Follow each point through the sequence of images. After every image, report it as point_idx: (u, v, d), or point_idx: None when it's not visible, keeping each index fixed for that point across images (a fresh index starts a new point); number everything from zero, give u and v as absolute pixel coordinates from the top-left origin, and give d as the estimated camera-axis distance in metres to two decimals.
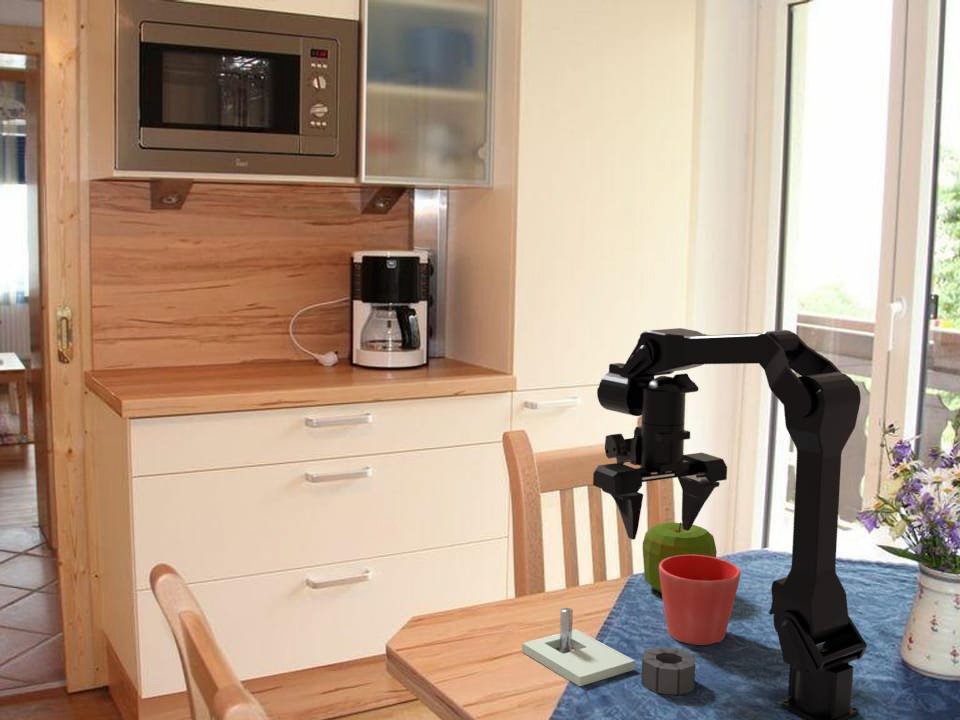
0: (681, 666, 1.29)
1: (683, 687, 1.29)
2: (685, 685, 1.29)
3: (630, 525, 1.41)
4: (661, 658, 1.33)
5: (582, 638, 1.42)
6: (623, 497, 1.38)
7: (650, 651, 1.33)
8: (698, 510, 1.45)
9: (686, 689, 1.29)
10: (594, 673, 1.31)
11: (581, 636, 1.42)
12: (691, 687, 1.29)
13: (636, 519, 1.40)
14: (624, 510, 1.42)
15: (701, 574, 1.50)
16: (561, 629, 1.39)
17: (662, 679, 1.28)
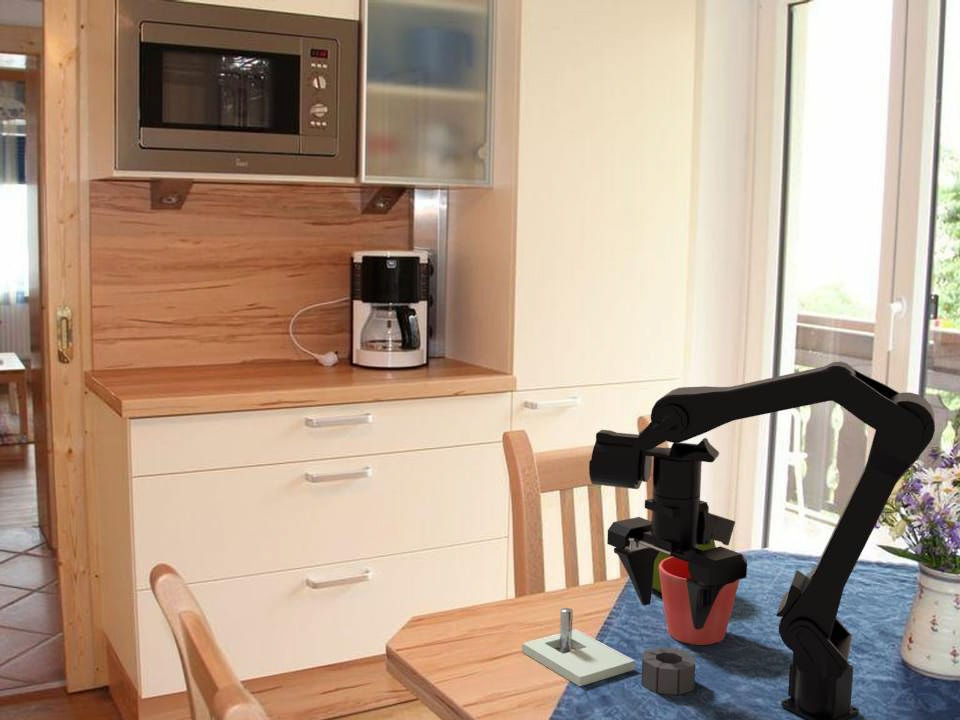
0: (681, 666, 1.29)
1: (683, 687, 1.29)
2: (685, 685, 1.29)
3: None
4: (661, 658, 1.33)
5: (582, 638, 1.42)
6: None
7: (650, 651, 1.33)
8: (693, 608, 1.25)
9: (686, 689, 1.29)
10: (594, 673, 1.31)
11: (581, 636, 1.42)
12: (691, 687, 1.29)
13: (633, 581, 1.33)
14: None
15: None
16: (561, 629, 1.39)
17: (662, 679, 1.28)
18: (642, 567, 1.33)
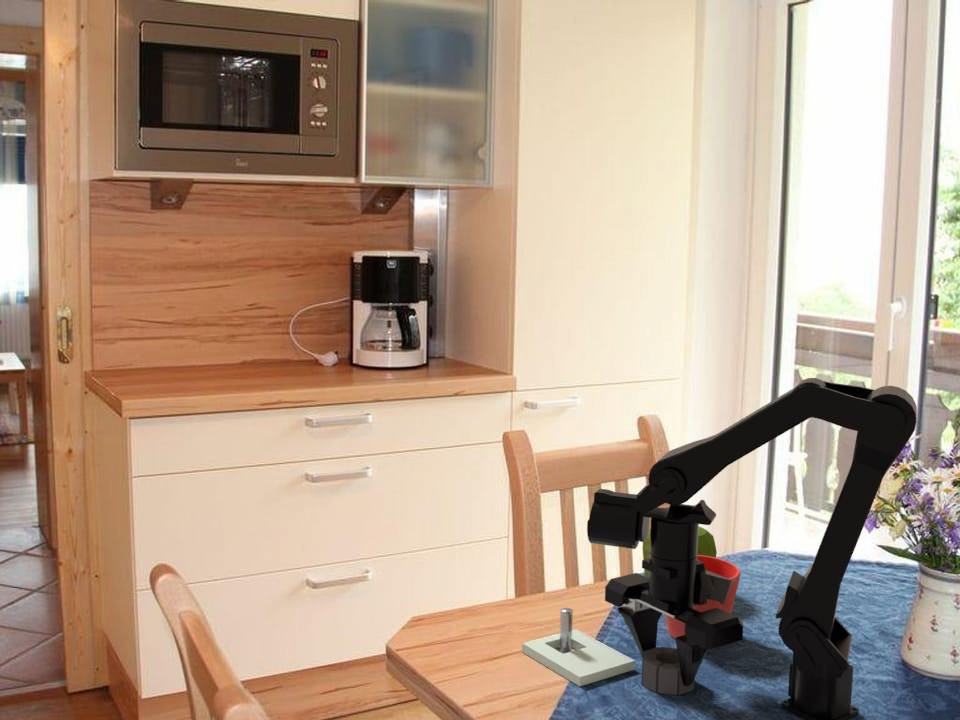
0: None
1: (683, 687, 1.29)
2: None
3: None
4: (661, 658, 1.33)
5: (582, 638, 1.42)
6: (618, 609, 1.35)
7: (650, 651, 1.33)
8: (682, 666, 1.27)
9: (686, 689, 1.29)
10: (594, 673, 1.31)
11: (581, 636, 1.42)
12: (691, 687, 1.29)
13: (637, 642, 1.33)
14: None
15: None
16: (561, 629, 1.39)
17: (662, 679, 1.28)
18: (646, 627, 1.33)
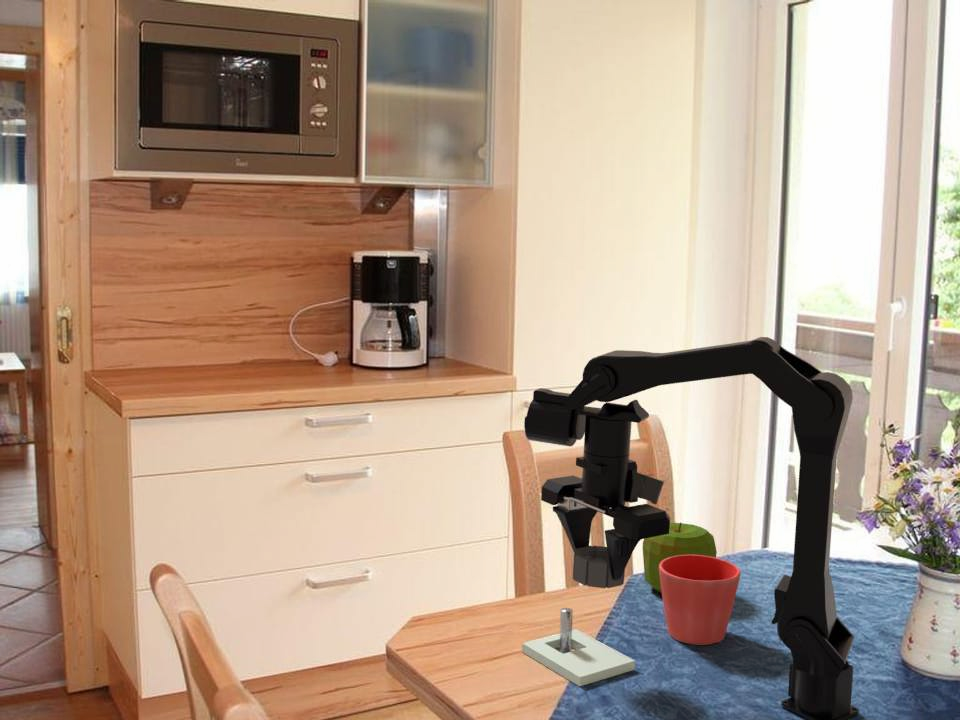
0: None
1: (611, 581, 1.32)
2: None
3: None
4: (593, 555, 1.36)
5: (582, 638, 1.42)
6: None
7: (583, 548, 1.37)
8: (611, 559, 1.30)
9: (615, 583, 1.33)
10: (594, 673, 1.31)
11: (581, 636, 1.42)
12: (620, 582, 1.33)
13: (570, 539, 1.37)
14: None
15: (701, 574, 1.50)
16: (561, 629, 1.39)
17: (592, 573, 1.32)
18: (579, 526, 1.37)
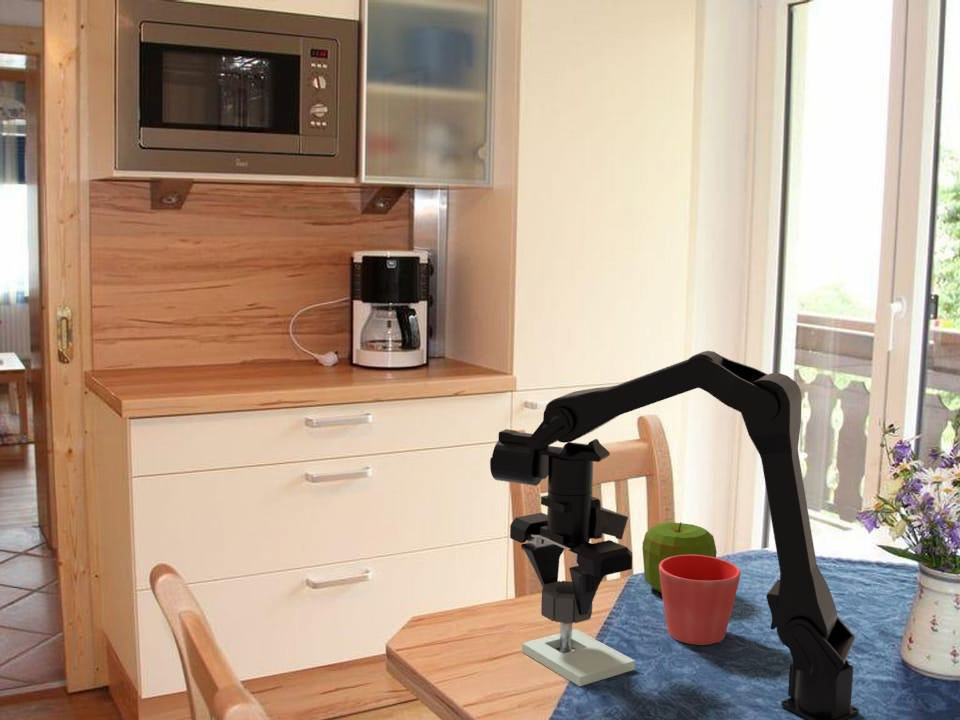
0: None
1: (578, 616, 1.36)
2: None
3: None
4: (561, 591, 1.40)
5: (582, 638, 1.42)
6: None
7: (551, 584, 1.40)
8: (577, 595, 1.34)
9: (582, 617, 1.36)
10: (594, 673, 1.31)
11: (581, 636, 1.42)
12: (587, 616, 1.37)
13: (539, 576, 1.41)
14: None
15: (701, 574, 1.50)
16: (561, 629, 1.39)
17: (559, 608, 1.36)
18: (547, 562, 1.41)
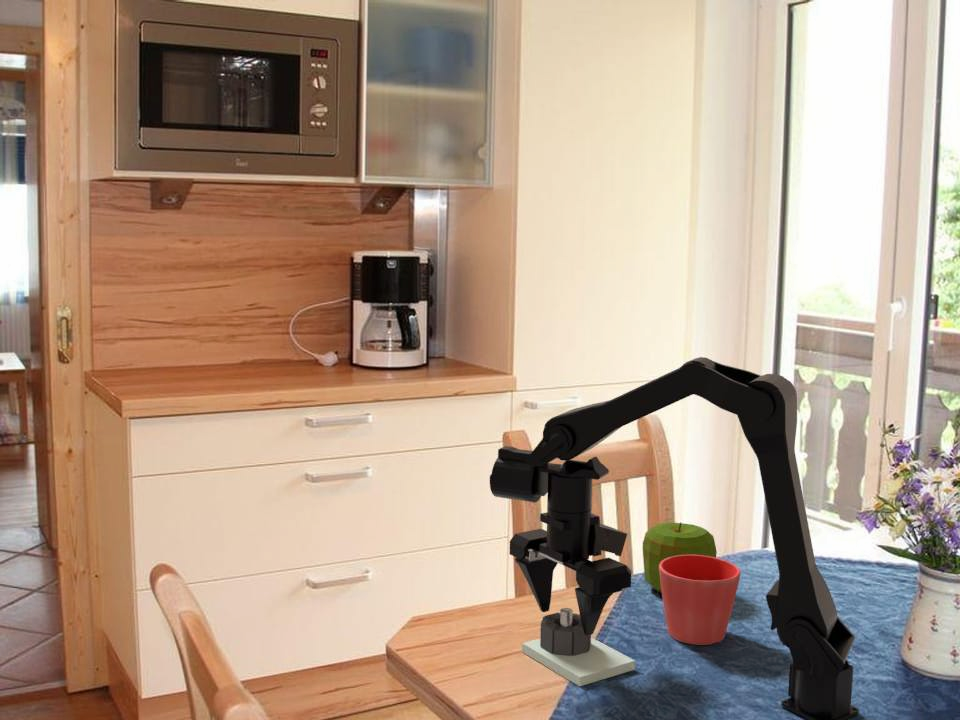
0: (576, 629, 1.37)
1: (577, 648, 1.36)
2: (580, 647, 1.37)
3: None
4: None
5: None
6: None
7: (550, 615, 1.41)
8: (582, 615, 1.33)
9: (581, 650, 1.37)
10: (594, 673, 1.31)
11: None
12: (586, 649, 1.37)
13: (533, 589, 1.42)
14: None
15: (701, 574, 1.50)
16: None
17: (558, 641, 1.36)
18: (541, 576, 1.42)
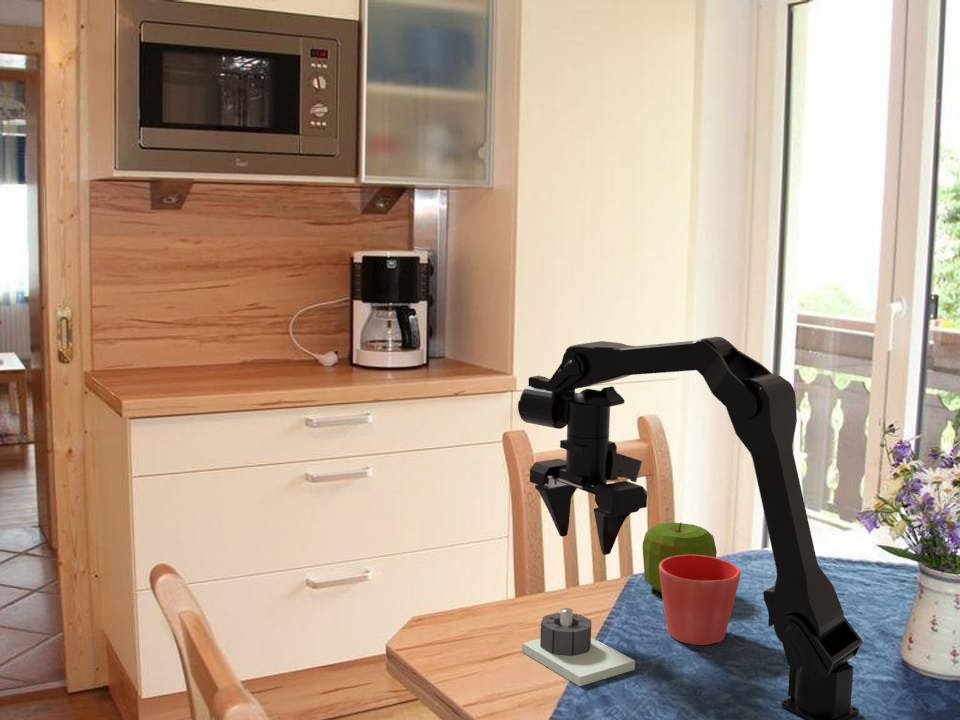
0: (576, 629, 1.37)
1: (577, 648, 1.36)
2: (580, 647, 1.37)
3: None
4: None
5: None
6: None
7: (550, 615, 1.41)
8: (600, 535, 1.41)
9: (581, 650, 1.37)
10: (594, 673, 1.31)
11: None
12: (586, 649, 1.37)
13: (552, 514, 1.49)
14: None
15: (701, 574, 1.50)
16: None
17: (558, 641, 1.36)
18: (560, 502, 1.49)
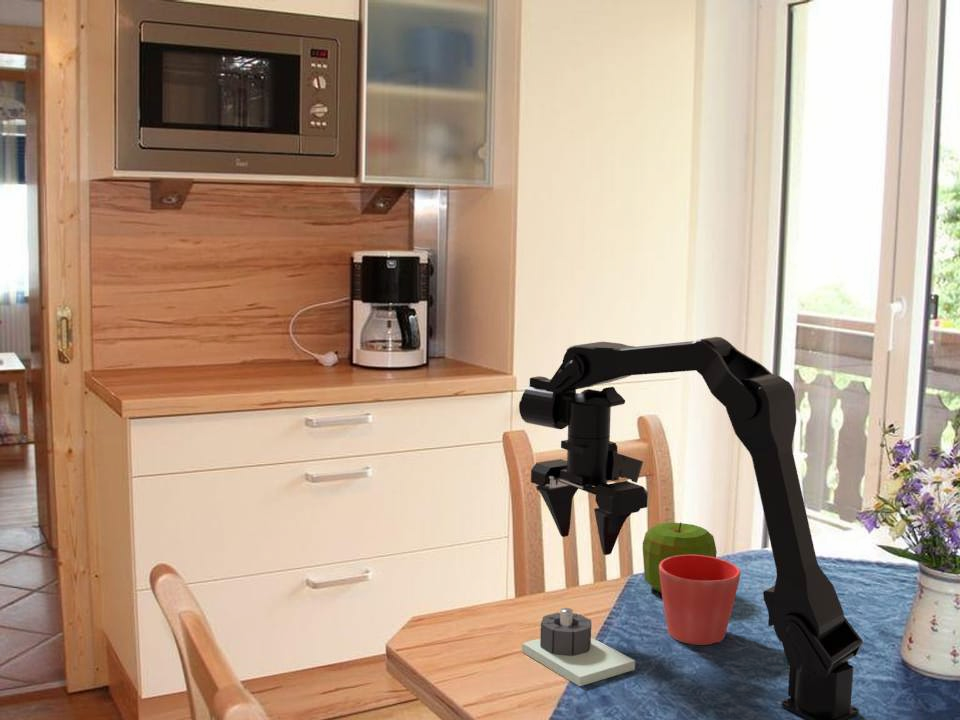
0: (576, 629, 1.37)
1: (577, 648, 1.36)
2: (580, 647, 1.37)
3: None
4: None
5: None
6: None
7: (550, 615, 1.41)
8: (601, 535, 1.41)
9: (581, 650, 1.37)
10: (594, 673, 1.31)
11: None
12: (586, 649, 1.37)
13: (553, 515, 1.49)
14: None
15: (701, 574, 1.50)
16: None
17: (558, 641, 1.36)
18: (561, 502, 1.50)
